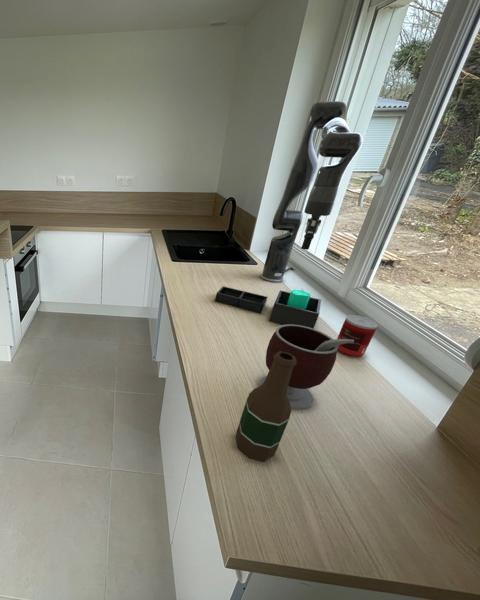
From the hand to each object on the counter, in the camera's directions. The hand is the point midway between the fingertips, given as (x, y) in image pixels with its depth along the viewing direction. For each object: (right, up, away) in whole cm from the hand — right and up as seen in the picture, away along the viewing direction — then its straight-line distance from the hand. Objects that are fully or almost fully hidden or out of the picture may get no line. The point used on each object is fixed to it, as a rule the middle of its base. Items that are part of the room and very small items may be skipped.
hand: (305, 246), depth 115 cm
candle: (-1, -26, +7) cm, 27 cm away
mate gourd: (-26, -44, -30) cm, 60 cm away
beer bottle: (-44, -51, -46) cm, 81 cm away
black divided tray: (-15, -21, +18) cm, 31 cm away
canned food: (+5, -36, -12) cm, 38 cm away
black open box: (-1, -27, +7) cm, 27 cm away
